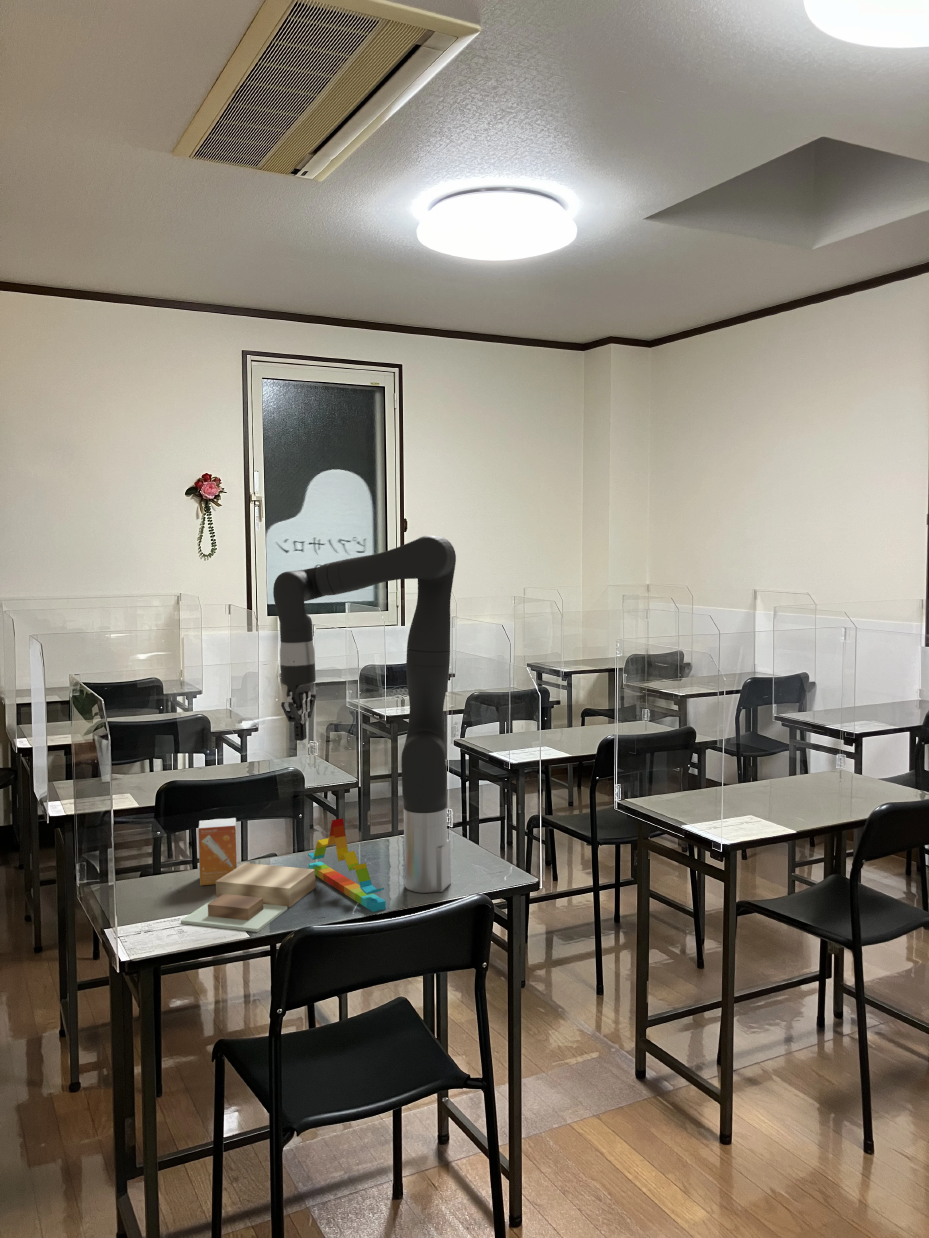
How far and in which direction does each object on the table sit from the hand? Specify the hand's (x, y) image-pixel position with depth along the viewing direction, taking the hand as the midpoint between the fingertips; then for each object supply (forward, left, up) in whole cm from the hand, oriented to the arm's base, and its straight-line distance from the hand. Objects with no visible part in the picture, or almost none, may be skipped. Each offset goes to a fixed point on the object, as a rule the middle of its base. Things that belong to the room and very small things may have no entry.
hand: (300, 739), depth 217 cm
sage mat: (+3, +25, -31) cm, 40 cm away
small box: (+18, +7, -31) cm, 36 cm away
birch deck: (+3, +12, -31) cm, 33 cm away
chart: (-12, +5, -32) cm, 34 cm away
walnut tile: (+3, +24, -29) cm, 38 cm away
